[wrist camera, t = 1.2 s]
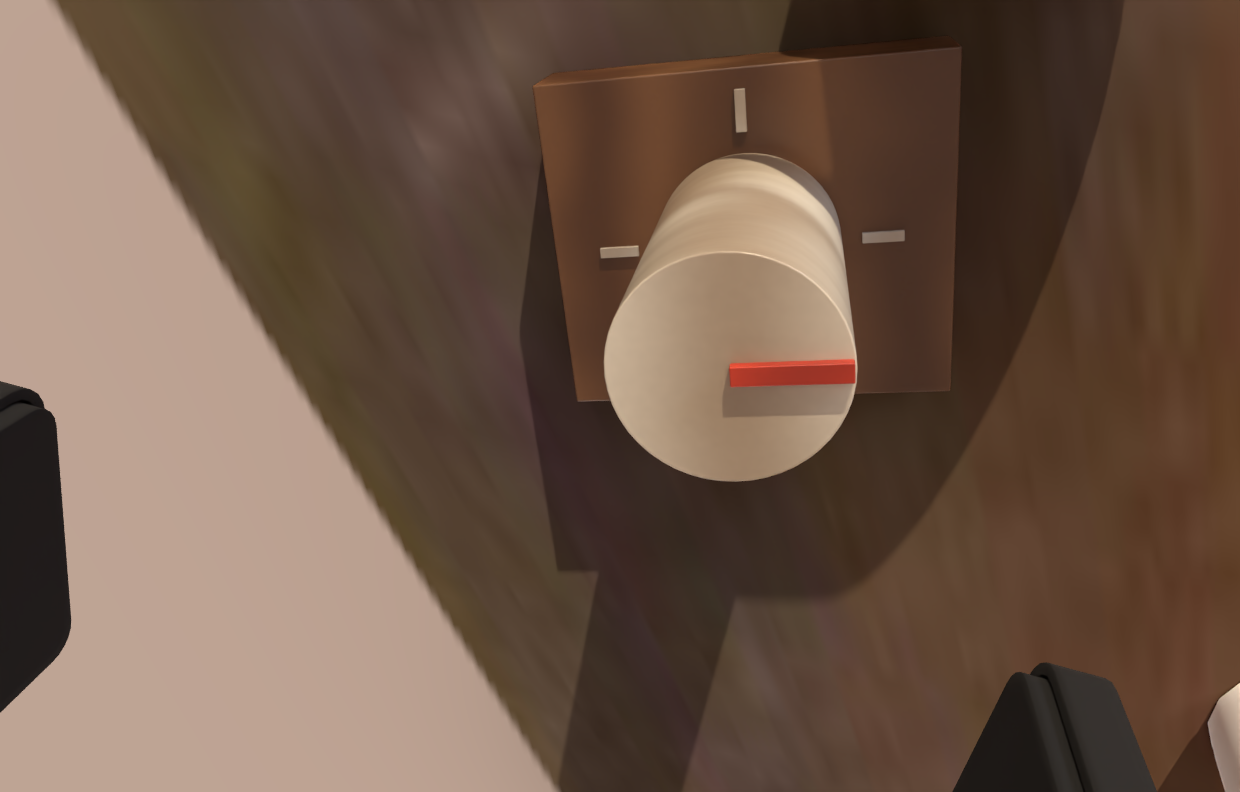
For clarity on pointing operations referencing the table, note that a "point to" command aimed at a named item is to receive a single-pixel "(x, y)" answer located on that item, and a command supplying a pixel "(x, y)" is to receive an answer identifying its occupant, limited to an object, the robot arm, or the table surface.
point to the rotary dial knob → (736, 324)
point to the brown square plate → (782, 127)
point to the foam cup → (1227, 738)
